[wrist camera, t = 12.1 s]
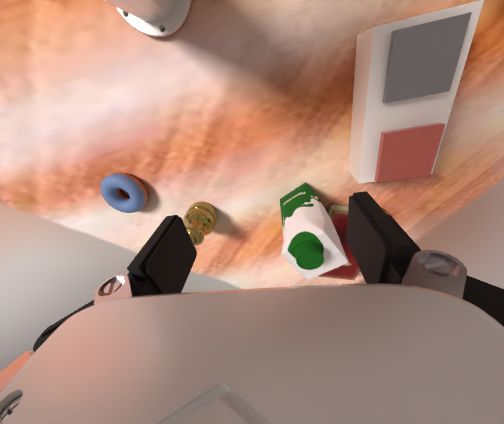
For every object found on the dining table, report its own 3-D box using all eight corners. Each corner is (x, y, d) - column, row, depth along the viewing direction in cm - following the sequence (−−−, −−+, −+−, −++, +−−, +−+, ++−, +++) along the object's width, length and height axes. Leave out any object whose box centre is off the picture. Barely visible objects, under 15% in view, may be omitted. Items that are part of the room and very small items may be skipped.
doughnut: (115, 161, 45) (101, 170, 41) (157, 187, 48) (147, 198, 45) (104, 188, 50) (91, 199, 47) (142, 210, 54) (133, 222, 50)
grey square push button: (373, 39, 30) (395, 30, 25) (433, 24, 29) (472, 11, 23) (367, 99, 34) (385, 103, 29) (420, 89, 33) (449, 91, 28)
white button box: (357, 35, 31) (373, 26, 26) (447, 13, 29) (484, -1, 24) (348, 171, 42) (358, 183, 37) (412, 162, 40) (432, 173, 35)
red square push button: (366, 125, 36) (384, 133, 30) (417, 116, 34) (445, 123, 29) (362, 168, 40) (377, 182, 34) (407, 162, 38) (430, 175, 33)
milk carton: (306, 176, 44) (329, 236, 27) (328, 205, 47) (360, 274, 30) (274, 198, 47) (276, 263, 30) (295, 223, 50) (308, 294, 34)
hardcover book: (381, 207, 47) (390, 217, 43) (351, 268, 58) (356, 281, 55) (329, 201, 47) (334, 211, 43) (309, 264, 58) (311, 276, 55)
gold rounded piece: (215, 200, 49) (203, 225, 40) (220, 225, 53) (211, 252, 44) (185, 201, 49) (168, 226, 41) (193, 226, 53) (178, 253, 45)
